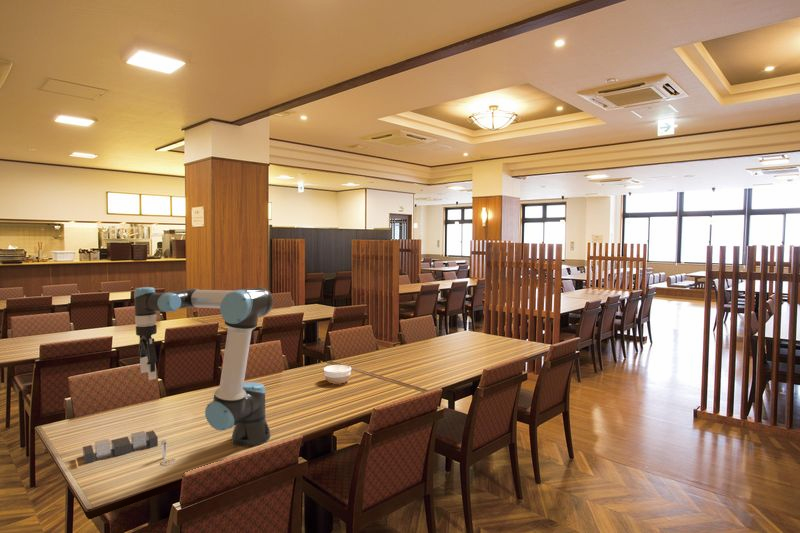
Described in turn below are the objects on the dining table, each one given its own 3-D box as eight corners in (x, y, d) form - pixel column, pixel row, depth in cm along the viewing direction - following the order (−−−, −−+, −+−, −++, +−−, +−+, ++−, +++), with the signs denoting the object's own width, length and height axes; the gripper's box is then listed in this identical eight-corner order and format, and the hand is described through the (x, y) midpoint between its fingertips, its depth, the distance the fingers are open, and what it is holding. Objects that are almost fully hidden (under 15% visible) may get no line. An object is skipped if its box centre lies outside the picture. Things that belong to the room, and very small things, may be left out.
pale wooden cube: (96, 459, 173) (96, 445, 173) (95, 454, 177) (94, 441, 176) (110, 455, 176) (110, 442, 176) (109, 451, 179) (108, 438, 179)
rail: (157, 446, 184) (157, 437, 184) (85, 465, 169) (84, 454, 169) (153, 440, 190) (153, 430, 190) (83, 457, 175) (82, 446, 175)
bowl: (356, 382, 267) (356, 369, 266) (331, 387, 258) (331, 373, 257) (343, 376, 280) (343, 363, 280) (319, 380, 271) (319, 367, 271)
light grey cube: (146, 446, 183) (145, 434, 183) (133, 450, 180) (132, 437, 180) (144, 442, 187) (143, 430, 186) (131, 445, 184) (131, 433, 184)
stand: (164, 466, 169) (154, 459, 174) (177, 461, 172) (168, 455, 177) (163, 446, 168) (154, 440, 173) (177, 441, 172) (167, 435, 177)
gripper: (164, 327, 183) (166, 380, 185) (148, 320, 202) (150, 368, 203) (143, 330, 179) (145, 384, 180) (129, 322, 197) (131, 371, 199)
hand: (148, 375), depth 192 cm, fingers open, 13 cm apart
